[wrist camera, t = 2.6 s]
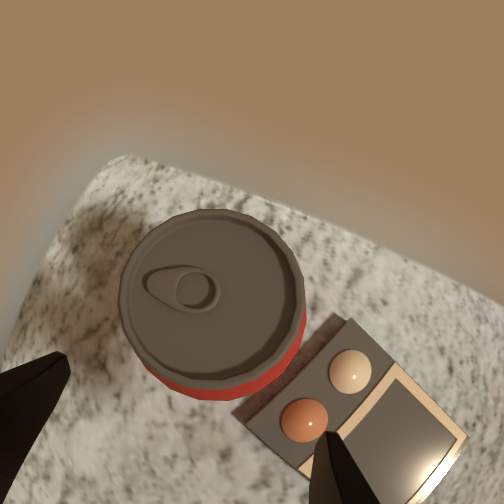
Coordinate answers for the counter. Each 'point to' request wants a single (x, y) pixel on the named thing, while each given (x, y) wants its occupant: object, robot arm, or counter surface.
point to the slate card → (363, 418)
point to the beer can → (213, 304)
